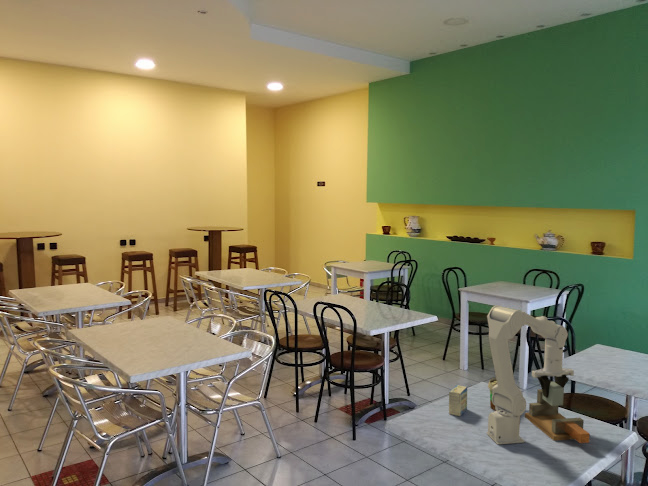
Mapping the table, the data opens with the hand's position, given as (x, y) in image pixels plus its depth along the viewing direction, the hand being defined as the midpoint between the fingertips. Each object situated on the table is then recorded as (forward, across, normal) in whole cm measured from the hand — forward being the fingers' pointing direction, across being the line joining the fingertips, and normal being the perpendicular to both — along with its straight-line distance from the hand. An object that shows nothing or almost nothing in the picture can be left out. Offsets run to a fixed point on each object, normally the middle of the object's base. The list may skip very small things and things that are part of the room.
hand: (551, 396), depth 180 cm
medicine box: (+10, -28, +14) cm, 33 cm away
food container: (+10, -12, +16) cm, 23 cm away
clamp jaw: (+8, 0, -13) cm, 16 cm away
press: (+10, 0, -2) cm, 10 cm away
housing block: (+2, 0, 0) cm, 2 cm away
